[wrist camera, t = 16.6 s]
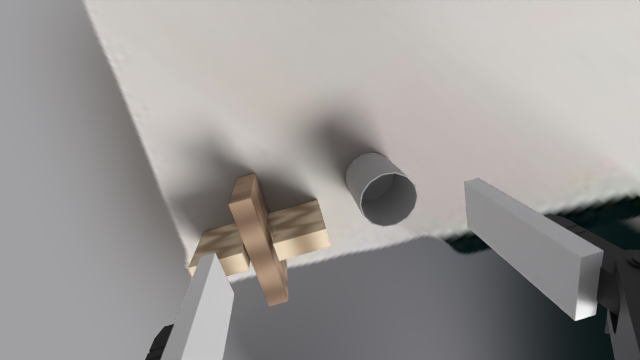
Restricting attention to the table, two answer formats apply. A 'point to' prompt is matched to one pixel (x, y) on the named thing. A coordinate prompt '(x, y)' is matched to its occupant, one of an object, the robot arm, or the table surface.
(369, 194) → the cup
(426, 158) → the table surface
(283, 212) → the notched wooden slab
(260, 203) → the walnut plate
